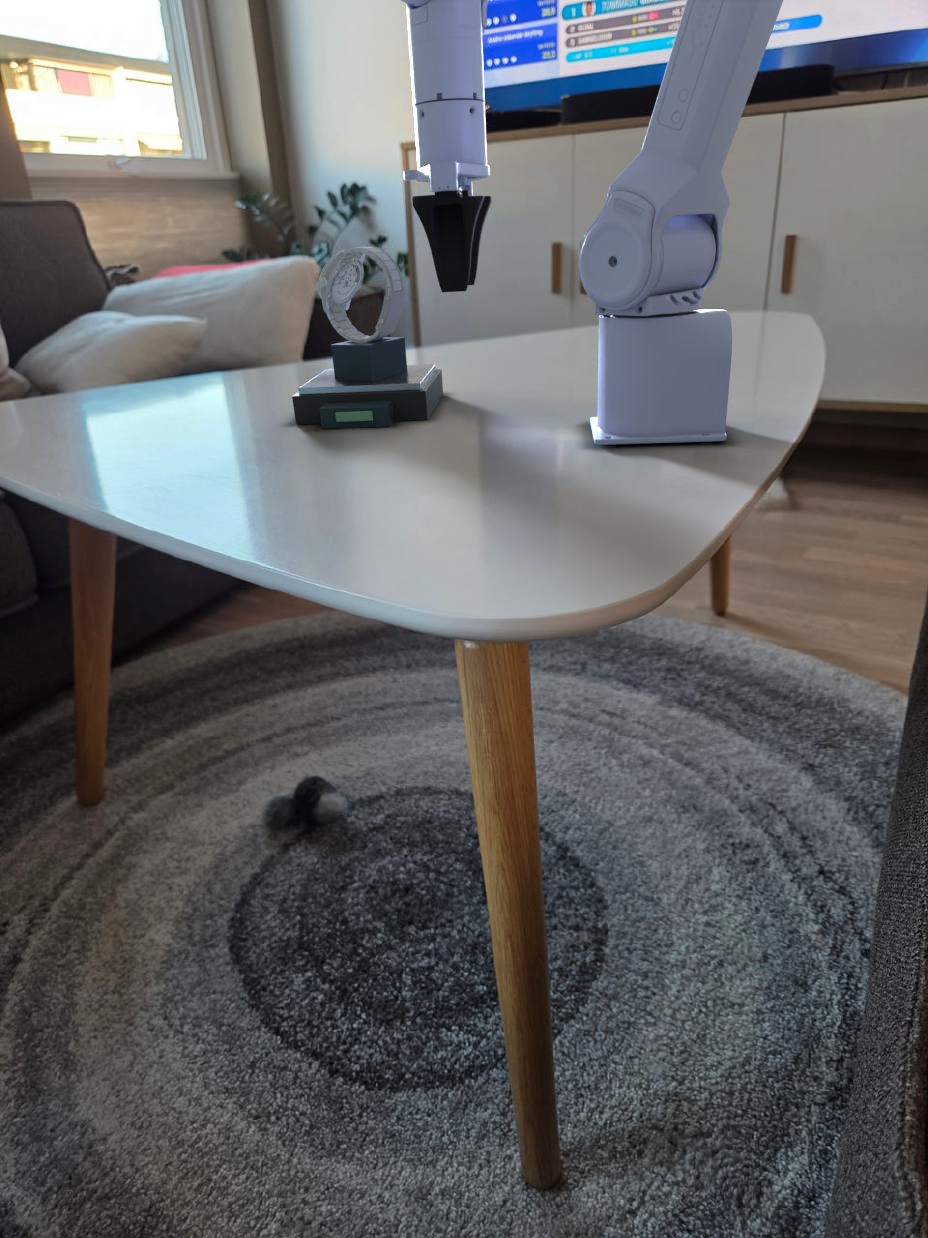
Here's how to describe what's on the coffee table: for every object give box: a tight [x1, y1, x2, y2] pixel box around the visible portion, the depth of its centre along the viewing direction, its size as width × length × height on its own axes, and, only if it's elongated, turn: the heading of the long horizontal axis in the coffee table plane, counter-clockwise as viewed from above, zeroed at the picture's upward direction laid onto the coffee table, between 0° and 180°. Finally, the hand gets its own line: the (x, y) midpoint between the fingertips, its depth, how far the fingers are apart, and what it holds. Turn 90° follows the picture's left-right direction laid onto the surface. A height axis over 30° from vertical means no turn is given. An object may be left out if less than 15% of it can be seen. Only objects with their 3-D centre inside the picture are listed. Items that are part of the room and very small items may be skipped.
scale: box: [291, 368, 444, 430], centre depth 77 cm, size 12×14×2 cm
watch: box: [317, 245, 408, 382], centre depth 74 cm, size 6×8×11 cm
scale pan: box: [297, 363, 437, 395], centre depth 77 cm, size 11×11×1 cm
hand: (458, 288), depth 71 cm, fingers open, 7 cm apart
